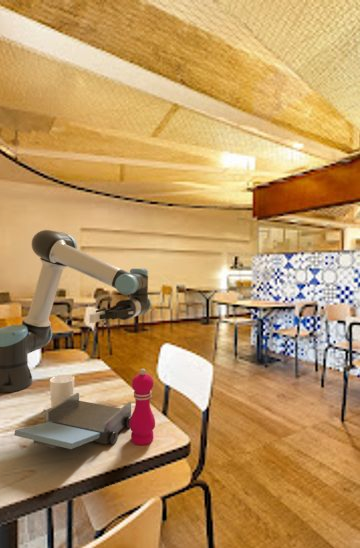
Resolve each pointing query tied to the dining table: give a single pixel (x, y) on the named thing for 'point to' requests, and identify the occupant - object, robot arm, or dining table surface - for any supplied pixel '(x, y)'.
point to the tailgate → (57, 435)
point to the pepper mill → (142, 410)
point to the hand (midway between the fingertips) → (91, 318)
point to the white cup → (61, 388)
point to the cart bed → (91, 417)
